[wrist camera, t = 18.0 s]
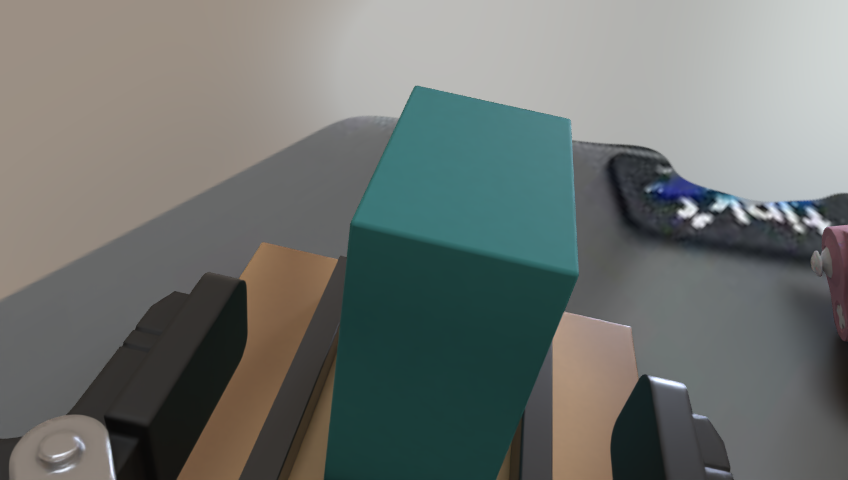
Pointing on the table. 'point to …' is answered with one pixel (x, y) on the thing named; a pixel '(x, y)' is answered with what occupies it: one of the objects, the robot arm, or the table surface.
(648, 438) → the robot arm
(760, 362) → the table surface
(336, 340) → the cork base pad
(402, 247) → the foam pad
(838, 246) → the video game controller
